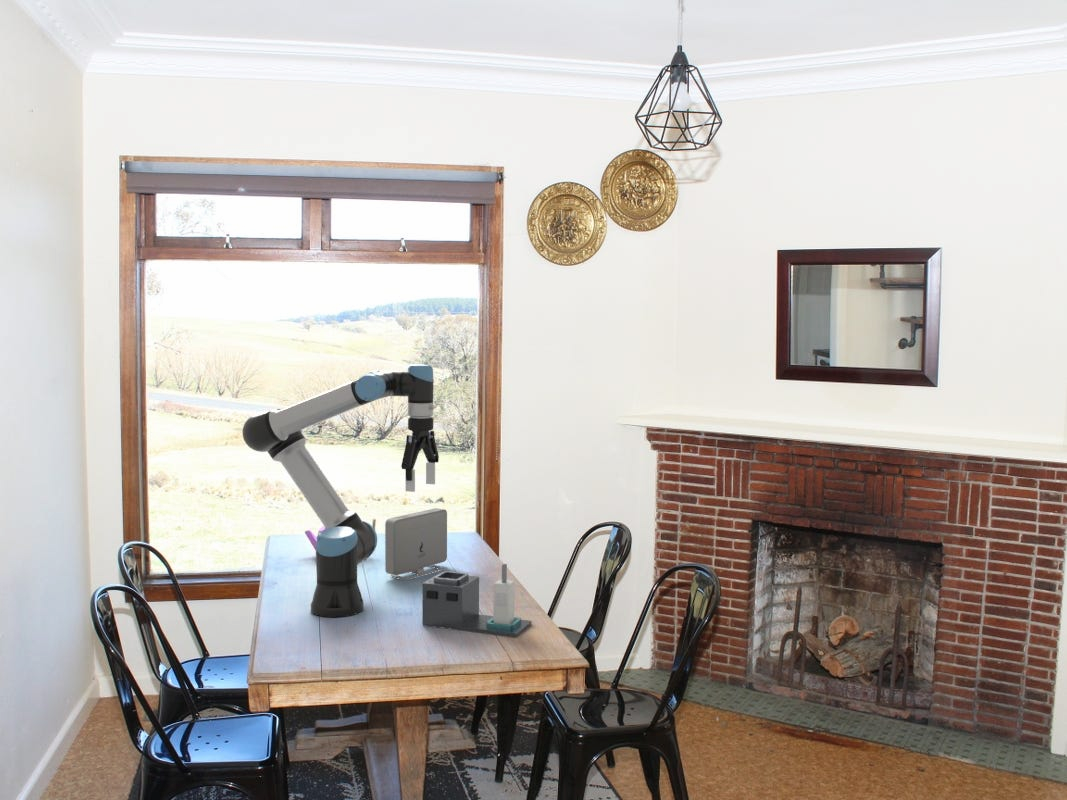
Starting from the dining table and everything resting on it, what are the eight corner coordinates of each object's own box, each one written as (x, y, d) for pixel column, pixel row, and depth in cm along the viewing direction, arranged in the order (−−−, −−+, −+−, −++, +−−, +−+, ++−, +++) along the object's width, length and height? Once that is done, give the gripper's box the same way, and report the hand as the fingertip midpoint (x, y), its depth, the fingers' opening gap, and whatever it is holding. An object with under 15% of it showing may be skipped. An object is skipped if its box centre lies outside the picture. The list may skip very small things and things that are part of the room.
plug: (507, 628, 271) (507, 567, 270) (492, 626, 273) (492, 566, 271) (514, 623, 276) (514, 563, 275) (499, 621, 278) (499, 561, 276)
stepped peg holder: (515, 638, 267) (516, 589, 266) (421, 625, 276) (421, 579, 275) (531, 624, 279) (532, 578, 278) (440, 613, 288) (440, 568, 287)
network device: (398, 583, 319) (398, 521, 318) (379, 578, 325) (379, 518, 323) (451, 567, 340) (452, 509, 338) (433, 563, 345) (433, 506, 343)
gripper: (413, 421, 282) (413, 495, 283) (449, 413, 305) (449, 481, 307) (389, 420, 284) (389, 493, 286) (427, 412, 307) (427, 480, 309)
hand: (420, 487), depth 296 cm, fingers open, 13 cm apart
